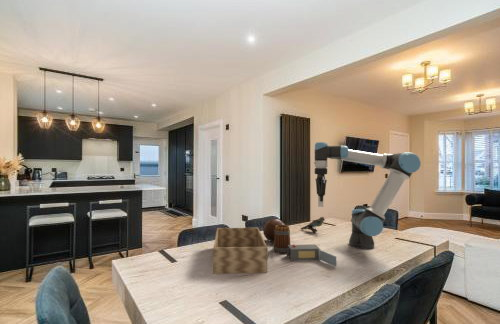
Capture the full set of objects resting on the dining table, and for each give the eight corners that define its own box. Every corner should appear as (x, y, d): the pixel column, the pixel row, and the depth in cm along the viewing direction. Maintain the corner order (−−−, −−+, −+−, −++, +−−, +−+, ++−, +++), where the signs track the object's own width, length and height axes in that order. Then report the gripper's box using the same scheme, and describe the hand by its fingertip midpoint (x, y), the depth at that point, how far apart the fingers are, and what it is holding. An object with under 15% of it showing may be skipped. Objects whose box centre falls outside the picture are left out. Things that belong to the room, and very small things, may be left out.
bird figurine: (296, 230, 205) (309, 209, 199) (302, 228, 213) (315, 208, 206) (309, 241, 198) (323, 221, 191) (315, 239, 205) (328, 219, 199)
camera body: (315, 254, 150) (315, 242, 150) (320, 259, 142) (320, 247, 142) (285, 255, 149) (285, 243, 149) (289, 260, 141) (289, 247, 141)
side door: (318, 260, 142) (318, 248, 142) (319, 259, 143) (319, 248, 143) (334, 267, 131) (334, 255, 131) (336, 267, 132) (336, 255, 132)
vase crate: (257, 246, 165) (258, 227, 165) (267, 272, 125) (267, 247, 125) (216, 247, 163) (217, 228, 163) (213, 273, 123) (213, 248, 123)
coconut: (290, 242, 174) (290, 220, 174) (272, 246, 165) (272, 222, 166) (275, 237, 186) (275, 216, 186) (258, 240, 178) (258, 218, 178)
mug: (290, 254, 150) (290, 228, 150) (272, 253, 152) (272, 227, 153) (291, 246, 166) (291, 222, 166) (275, 245, 168) (275, 221, 168)
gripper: (311, 167, 166) (311, 205, 165) (318, 167, 153) (318, 208, 152) (323, 167, 166) (322, 204, 166) (331, 167, 153) (330, 208, 153)
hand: (320, 206), depth 159 cm, fingers closed
